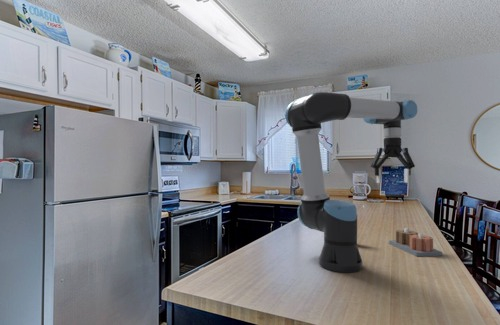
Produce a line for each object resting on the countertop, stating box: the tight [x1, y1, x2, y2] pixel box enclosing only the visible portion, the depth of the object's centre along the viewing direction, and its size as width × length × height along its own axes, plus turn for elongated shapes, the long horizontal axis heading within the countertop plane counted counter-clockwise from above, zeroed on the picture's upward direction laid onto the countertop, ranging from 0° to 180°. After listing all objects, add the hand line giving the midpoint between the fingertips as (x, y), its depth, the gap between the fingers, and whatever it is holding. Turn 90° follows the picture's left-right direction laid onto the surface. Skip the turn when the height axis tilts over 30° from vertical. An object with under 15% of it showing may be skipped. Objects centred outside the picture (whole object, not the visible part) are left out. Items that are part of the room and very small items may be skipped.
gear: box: [409, 234, 434, 252], centre depth 126 cm, size 9×9×5 cm
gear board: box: [388, 227, 443, 257], centre depth 130 cm, size 20×11×8 cm, turn 5°
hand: (392, 182), depth 139 cm, fingers open, 13 cm apart
